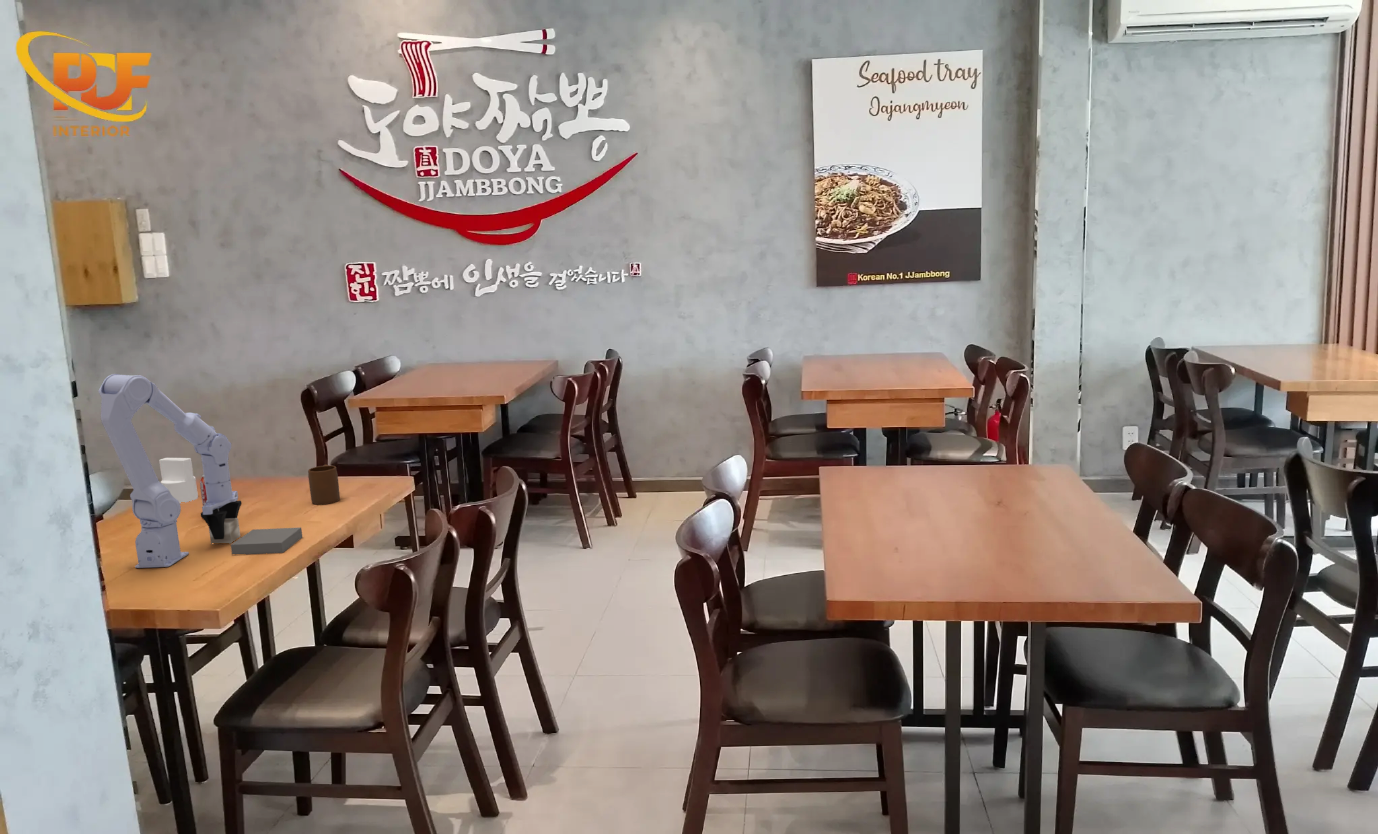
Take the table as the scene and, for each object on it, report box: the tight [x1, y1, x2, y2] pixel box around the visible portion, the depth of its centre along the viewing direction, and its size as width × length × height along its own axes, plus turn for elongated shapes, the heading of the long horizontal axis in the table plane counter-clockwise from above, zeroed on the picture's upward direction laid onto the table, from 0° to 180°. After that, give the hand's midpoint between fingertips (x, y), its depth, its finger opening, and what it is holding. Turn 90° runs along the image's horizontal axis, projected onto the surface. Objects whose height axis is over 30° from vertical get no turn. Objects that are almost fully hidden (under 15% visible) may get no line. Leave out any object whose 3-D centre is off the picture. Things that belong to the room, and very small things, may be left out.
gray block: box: [208, 517, 241, 545], centre depth 252 cm, size 5×5×5 cm
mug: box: [307, 463, 341, 505], centre depth 287 cm, size 12×8×9 cm, turn 11°
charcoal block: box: [230, 526, 303, 555], centre depth 246 cm, size 12×12×3 cm
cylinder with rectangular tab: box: [158, 457, 199, 504], centre depth 295 cm, size 9×9×12 cm
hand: (225, 535), depth 252 cm, fingers open, 6 cm apart
